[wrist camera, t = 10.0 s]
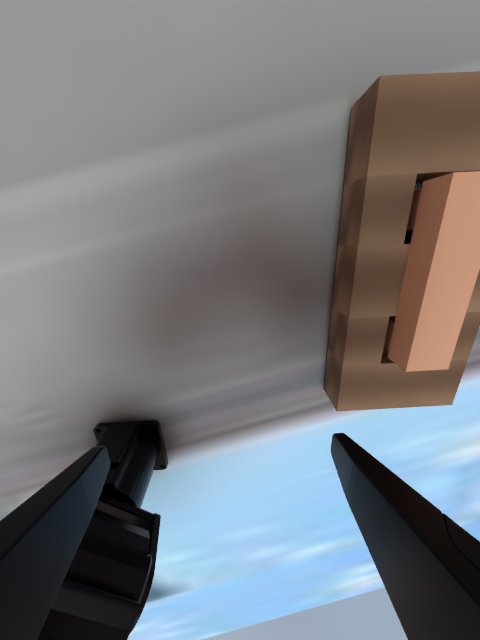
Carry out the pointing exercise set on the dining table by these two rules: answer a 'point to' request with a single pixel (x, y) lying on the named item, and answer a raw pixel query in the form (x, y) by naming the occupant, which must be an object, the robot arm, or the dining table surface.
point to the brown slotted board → (395, 233)
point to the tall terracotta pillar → (437, 272)
